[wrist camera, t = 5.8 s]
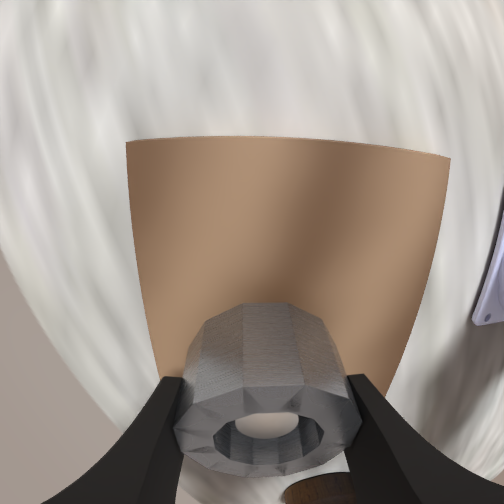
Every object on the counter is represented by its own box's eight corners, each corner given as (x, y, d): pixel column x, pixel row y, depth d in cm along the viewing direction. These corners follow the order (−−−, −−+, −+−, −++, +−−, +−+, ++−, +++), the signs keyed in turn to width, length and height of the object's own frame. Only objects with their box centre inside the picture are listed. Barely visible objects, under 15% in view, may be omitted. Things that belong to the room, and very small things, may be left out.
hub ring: (345, 300, 10) (381, 376, 7) (322, 401, 12) (337, 469, 9) (182, 302, 10) (159, 383, 7) (197, 404, 12) (190, 475, 9)
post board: (436, 154, 10) (519, 181, 6) (368, 408, 16) (389, 472, 11) (136, 139, 10) (66, 156, 5) (176, 414, 15) (163, 483, 11)
